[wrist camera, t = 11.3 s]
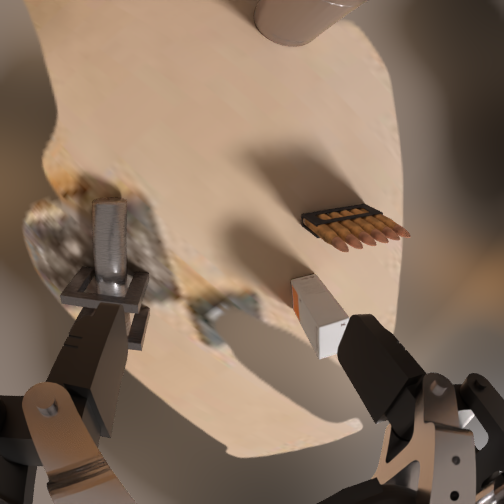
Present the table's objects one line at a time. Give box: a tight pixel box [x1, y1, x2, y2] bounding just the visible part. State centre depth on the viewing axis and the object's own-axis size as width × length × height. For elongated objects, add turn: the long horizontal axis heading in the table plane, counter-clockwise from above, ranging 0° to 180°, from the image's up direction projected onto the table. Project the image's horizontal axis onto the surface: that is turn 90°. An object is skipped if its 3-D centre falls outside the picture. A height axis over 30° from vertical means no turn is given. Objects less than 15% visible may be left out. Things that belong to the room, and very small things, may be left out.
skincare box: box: [291, 274, 349, 359], centre depth 38 cm, size 6×4×12 cm
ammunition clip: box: [301, 204, 411, 252], centre depth 33 cm, size 11×2×12 cm, turn 97°
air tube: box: [92, 198, 131, 335], centre depth 34 cm, size 20×5×5 cm, turn 170°
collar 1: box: [60, 266, 149, 314], centre depth 32 cm, size 1×11×8 cm, turn 80°
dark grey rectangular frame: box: [69, 307, 150, 351], centre depth 35 cm, size 1×11×8 cm, turn 80°
